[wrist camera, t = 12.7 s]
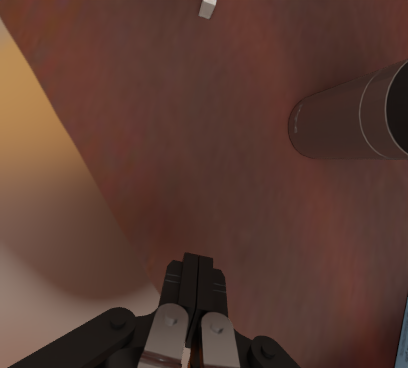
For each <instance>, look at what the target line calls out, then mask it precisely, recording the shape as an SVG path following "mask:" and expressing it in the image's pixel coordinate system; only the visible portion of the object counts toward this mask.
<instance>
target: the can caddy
mask: <svg viewBox="0 0 408 368" xmlns="http://www.w3.org/2000/svg"><path fill="white" fill-rule="evenodd" d="M216 1H217V0H202V3H201V7H200V12H199V16H201V17H204V18H207V19H210V17H211V15H212V12H213V10H214V8H215V5H216Z"/></svg>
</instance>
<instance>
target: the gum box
mask: <svg viewBox="0 0 408 368" xmlns="http://www.w3.org/2000/svg"><path fill="white" fill-rule="evenodd" d="M395 368H408V299H407V304H406V310H405V315H404V320H403V326H402V331H401V337H400V342H399V347H398V353H397V358H396V363H395Z"/></svg>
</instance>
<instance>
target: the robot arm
mask: <svg viewBox="0 0 408 368" xmlns="http://www.w3.org/2000/svg"><path fill="white" fill-rule="evenodd" d="M288 130H289V136H290V140H291V142H292V144H293V146H294V147H295V148H296V150H297V151H299V152H300V153H301V154H303V155H304V156H306V157H310V158H324V159H386V160H408V59H406V60H403V61H401V62H398V63H396V64H393V65H390V66H388V67H385V68H383V69H380V70H377V71H375V72H372V73H370V74H367V75H364V76H362V77H359V78H356V79H354V80H351V81H348V82H346V83H343V84H341V85H338V86H335V87H333V88H330V89H327V90H325V91H322V92H319V93H317V94H314V95H312V96H309V97H307V98H304V99H303V100H302V101H300V102H299V103H298V104H297V105H296V106H295V108H294V109H293V111H292V113H291V116H290V118H289V124H288ZM225 286H226V283H225V277H224V275H223V273H222V271H221V270H219V269H214V268H213V258H210V257H205V256H200V255H199V257H198V255H195V254H191V253H186V252H185V253H184V256H183V260H182V262H180V261H175V260H173V261H172V262H171V263H170V264H169V265H168V266H167V270H166V275H165V279H164V283H163V287H162V292H161V296H160V301H159V306H158V308H157V309H156V310H155V311H154V312H153V313H151V314H149V315H146V316H138V317H135V315H134V314H133V313H132V312H131V311H130V310H128V309H126V308H122V307H117V308H112V309H109V310H107V311H106V312H104V313H102V314H101V315H99V316H97V317H95V318H93V319H92V320H90V321H88V322H86V323H85V324H83V325H81V326H80V327H78V328H76V329H74V330H72V331H71V332H69V333H67V334H65V335H64V336H62V337H60V338H58V339H57V340H55V341H53V342H52V343H50V344H48V345H46V346H45V347H43V348H41V349H39V350H38V351H36V352H34V353H32V354H31V355H29V356H27V357H25V358H24V359H22V360H20V361H19V362H17V363H15V364H13V365H11V366H10V367H8V368H181V367H182V364H181V360H182V354H183V348H184V343H185V347H186V348H191V352H190V358H189V361H188V365H187V368H300V367H299V365H298V364H297V363H296V362H295V361H294V360H293V359H292V358H291V357H290V356H289V355H288V354H287V353H286V351H285V350H284V349H283V348H282V347H281V346H280V345H279V344H278V343H277V342H276V341H275V340H273V339H272V338H270V337H267V336H257V337H255V338H254V339H253V340H251V339H249V338H247V337H245V336H243V335H241V334H239V333H238V332H237V331H236V330H235V329H234V328H233V325H232V323H231V321H230V320H229V319H228V309H227V296H226V287H225Z"/></svg>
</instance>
